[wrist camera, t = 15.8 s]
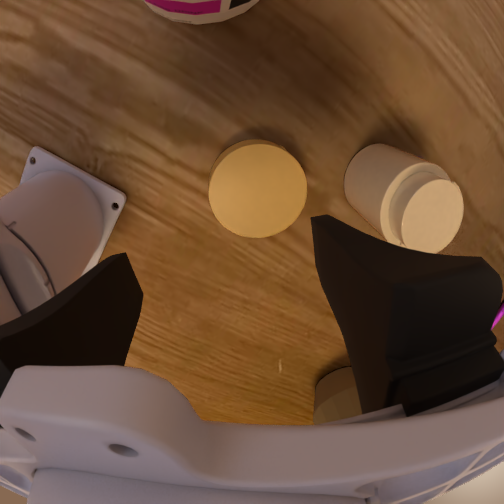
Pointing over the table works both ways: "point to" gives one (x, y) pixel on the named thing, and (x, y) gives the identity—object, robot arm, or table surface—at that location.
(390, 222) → the jar
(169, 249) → the table surface
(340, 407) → the squeeze bottle
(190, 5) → the supplement can
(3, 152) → the table surface
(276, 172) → the lid
